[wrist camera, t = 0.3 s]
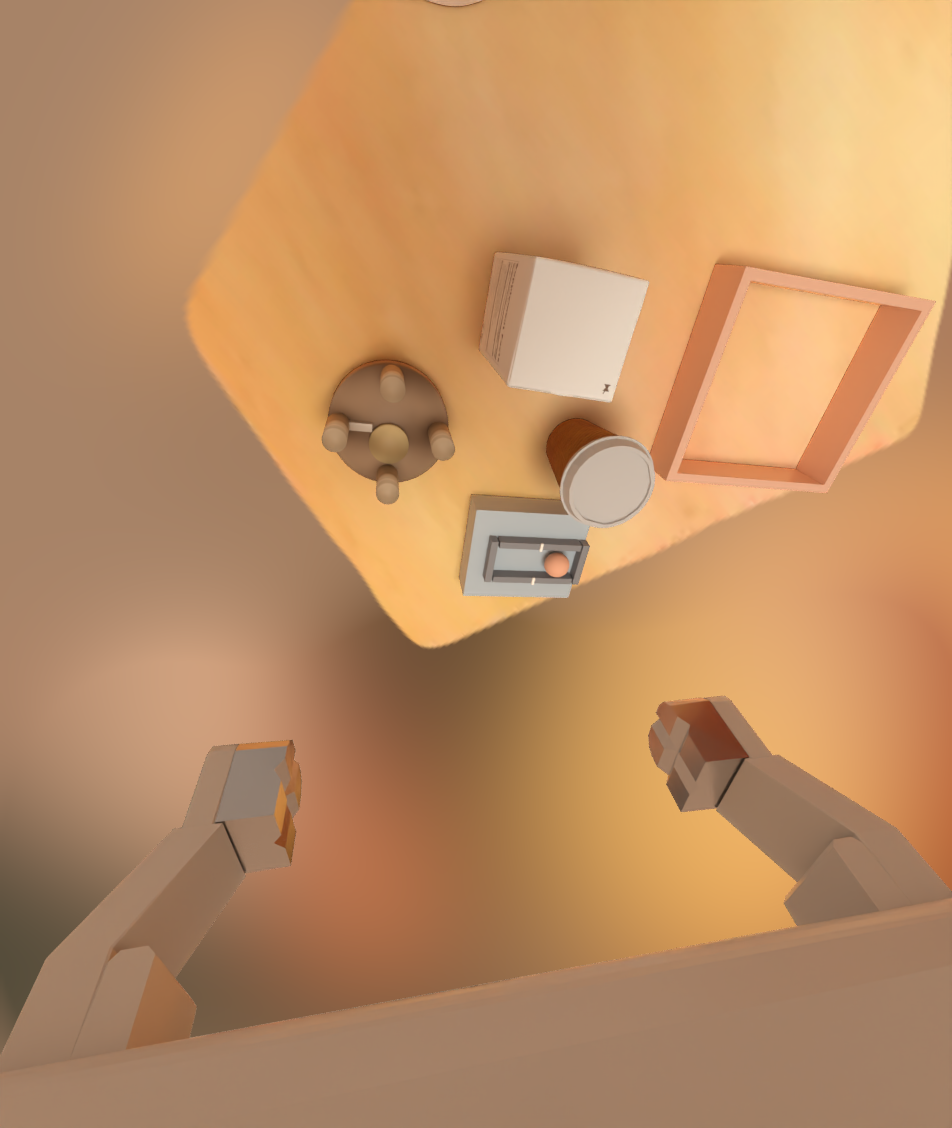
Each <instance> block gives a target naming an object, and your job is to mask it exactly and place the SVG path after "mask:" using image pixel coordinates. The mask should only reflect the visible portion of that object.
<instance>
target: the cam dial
mask: <svg viewBox="0 0 952 1128" xmlns="http://www.w3.org/2000/svg"><path fill="white" fill-rule="evenodd" d="M322 443H323V445H324V447H325V448H326V449H327V450H329V451H331V452H337V453H338V455H339V456H340V458H341V459H342V460H343V461H344V462H345V463H346V464H347V465H348V466H349V467H350V468H351V469H352V470H354V471H355V472H357V473H358V474H360V475H362V476H364V477H366V478H369V479H371V480H375V481H377V486H376V496H377V498H378V500H379V501H380V502H382V503H384V504H392V503H394V502H396V501H397V499H398V497H399V486H398V482H403V481H407V480H410V479H413V478H416V477H418V476H419V475H421V474H423V473H424V472H426V471H427V470H428V469H430V468H431V467H432V466H433V465H434V464H435V462H436V461H437V460H442V461H444V460H448V459H450V458H451V457H452V456H453V455H454V452H455V446H454V443H453V440H452V438H451V435H450V432H449V429H448V417H447V412H446V409H445V406H444V403H443V401H442V398H441V396H440V394H439V392H438V390H437V388H436V387H435V385H434V384H433V383H432V382H431V381H430V379H429V378H428V377H427V376H425V375H424V374H423V373H422V372H420V371H419V370H417V369H416V368H414V367H412V366H410V365H408V364H405V363H402V362H398V361H393V360H379V361H373V362H368V363H366V364H363V365H361V366H359V367H357V368H355V369H354V370H352V371H351V372H350V373H349V374H347V375H346V377H345V378H344V379H343V380H342V381H341V382H340V384H339V385H338V387H337V389H336V391H335V393H334V396H333V399H332V402H331V405H330V409H329V414H328V419H327V422H326V425H325V429H324V432H323V435H322Z"/></svg>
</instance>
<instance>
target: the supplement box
mask: <svg viewBox="0 0 952 1128" xmlns="http://www.w3.org/2000/svg"><path fill="white" fill-rule="evenodd" d="M648 285H649V281H647V280H644V279H640V278H636V277H632V276H628V275H624V274H621V273H616V272H612V271H608V270H604V269H600V268H596V267H591V266H587V265H582V264H577V263H572V262H567V261H562V260H556V259H550V258H545V257H539V256H529V255H521V254H513V253H504V252H496V253H495V255H494V261H493V267H492V273H491V279H490V285H489V291H488V297H487V303H486V309H485V315H484V321H483V327H482V333H481V338H480V345H479V351H480V352H481V353H482V354H483V356H484V357H485V358H486V359H487V361H488V362H489V363H490V364H491V366H492V367H493V368H494V369H495V370H496V372H497V373H498V374H499V375H500V377H501V378H502V379H503V380H504V382H505V383H506V384H507V386H508V387H512V388H518V389H525V390H531V391H538V392H544V393H550V394H556V395H560V396H570V397H576V398H583V399H589V400H595V401H602V402H612V399H613V396H614V393H615V389H616V386H617V383H618V380H619V377H620V373H621V370H622V367H623V364H624V360H625V357H626V354H627V351H628V348H629V344H630V341H631V338H632V335H633V332H634V329H635V326H636V323H637V320H638V317H639V314H640V311H641V308H642V305H643V302H644V298H645V295H646V292H647V289H648Z"/></svg>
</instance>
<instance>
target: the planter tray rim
mask: <svg viewBox="0 0 952 1128" xmlns="http://www.w3.org/2000/svg"><path fill="white" fill-rule="evenodd" d="M750 282H751V283H757V284H763V285H768V286H774V287H780V288H785V289H791V290H797V291H802V292H808V293H814V294H819V295H825V296H831V297H836V298H842V299H848V300H853V301H859V302H865V303H870V304H876V305H881V306H880V307H879V309H878V311H877V313H876V315H875V317H874V319H873V321H872V323H871V325H870V327H869V329H868V331H867V332H866V334H865V336H864V338H863V340H862V342H861V344H860V346H859V348H858V350H857V352H856V354H855V356H854V358H853V359H852V361H851V363H850V365H849V367H848V369H847V371H846V373H845V375H844V377H843V379H842V381H841V383H840V385H839V386H838V388H837V390H836V392H835V394H834V396H833V398H832V400H831V402H830V404H829V406H828V408H827V410H826V411H825V413H824V415H823V417H822V419H821V421H820V423H819V425H818V427H817V429H816V431H815V433H814V435H813V437H812V438H811V440H810V442H809V444H808V446H807V448H806V450H805V452H804V454H803V456H802V458H801V460H800V462H799V464H798V465H797V467H796V469H791V468H779V467H768V466H756V465H745V464H733V463H722V462H710V461H698V460H687V459H683V456H684V454H685V451H686V448H687V446H688V443H689V441H690V438H691V435H692V433H693V430H694V428H695V425H696V422H697V420H698V417H699V415H700V412H701V409H702V407H703V404H704V402H705V399H706V396H707V394H708V391H709V389H710V386H711V383H712V381H713V378H714V376H715V373H716V370H717V368H718V365H719V363H720V360H721V357H722V355H723V352H724V349H725V347H726V344H727V342H728V339H729V336H730V334H731V331H732V329H733V326H734V323H735V321H736V318H737V316H738V313H739V310H740V308H741V305H742V303H743V300H744V297H745V295H746V292H747V290H748V287H749V284H750ZM935 303H936V301H932V300H926V299H921V298H916V297H910V296H905V295H899V294H894V293H888V292H883V291H877V290H872V289H867V288H861V287H856V286H850V285H845V284H839V283H834V282H829V281H823V280H818V279H812V278H807V277H801V276H796V275H790V274H785V273H780V272H774V271H769V270H763V269H758V268H752V267H747V266H735V265H723V264H715V267H714V270H713V273H712V275H711V278H710V281H709V284H708V287H707V290H706V293H705V296H704V299H703V302H702V304H701V307H700V310H699V313H698V316H697V319H696V322H695V325H694V328H693V331H692V333H691V336H690V339H689V342H688V345H687V348H686V351H685V354H684V357H683V360H682V362H681V365H680V368H679V371H678V374H677V377H676V380H675V383H674V386H673V389H672V391H671V394H670V397H669V400H668V403H667V406H666V409H665V412H664V415H663V418H662V420H661V423H660V426H659V429H658V432H657V435H656V438H655V441H654V444H653V447H652V449H651V452H650V455H651V457H652V460H653V465H654V471H655V472H656V473H657V474H659V475H660V476H661V477H662V478H663V479H664V480H666V481H675V482H688V483H701V484H714V485H728V486H741V487H754V488H767V489H780V490H794V491H807V492H821V493H827V492H828V490H829V488H830V486H831V485H832V483H833V481H834V479H835V478H836V476H837V474H838V472H839V471H840V469H841V467H842V465H843V464H844V462H845V460H846V458H847V457H848V455H849V453H850V451H851V450H852V448H853V446H854V444H855V443H856V441H857V439H858V437H859V436H860V434H861V432H862V430H863V429H864V427H865V425H866V423H867V422H868V420H869V418H870V416H871V415H872V413H873V411H874V409H875V408H876V406H877V404H878V402H879V401H880V399H881V397H882V395H883V394H884V392H885V390H886V388H887V387H888V385H889V383H890V381H891V380H892V378H893V376H894V374H895V373H896V371H897V369H898V367H899V366H900V364H901V362H902V360H903V359H904V357H905V355H906V353H907V352H908V350H909V348H910V346H911V345H912V343H913V341H914V339H915V338H916V336H917V334H918V332H919V331H920V329H921V327H922V325H923V324H924V322H925V320H926V318H927V317H928V315H929V313H930V311H931V310H932V308H933V306H934V304H935Z"/></svg>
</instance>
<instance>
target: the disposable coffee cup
mask: <svg viewBox="0 0 952 1128" xmlns="http://www.w3.org/2000/svg"><path fill="white" fill-rule="evenodd" d="M546 452H547V456H548V459H549V462H550V464H551V467H552V469H553V472H554V474H555V477H556V480H557V482H558V485H559V487H560V497H561V501H562V504H563V506H564V509H565V510H566V512H567V513H568V514H569V515H570V516H571V517H572V518H573V519H574V520H576V521H578V522H580V523H582V524H585V525H589V526H592V527H597V528H608V527H613V526H616V525H620V524H622V523H624V522H626V521H628V520H629V519H631V518H632V517H634V516H635V515H636V514H638V513H639V511H640V510H641V509H642V508H643V507H644V506H645V505H646V503H647V502H648V500H649V498H650V496H651V494H652V491H653V488H654V483H655V472H654V465H653V460H652V457H651V455H650V453H649V452H648V450H647V449H646V448H645V447H644V446H643V445H642V444H641V443H640V442H638V441H636V440H634V439H632V438H630V437H625V436H617V435H615V434H613V433H611V432H609V431H607V430H605V429H603V428H601V427H599V426H597V425H595V424H593V423H591V422H589V421H587V420H584V419H579V418H576V419H570V420H567V421H565V422H562V423H561V424H560V425H558V426H557V427H556V428H555V429H554V430H553V432H552V433H551V435H550V437H549V439H548V441H547V447H546Z"/></svg>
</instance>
